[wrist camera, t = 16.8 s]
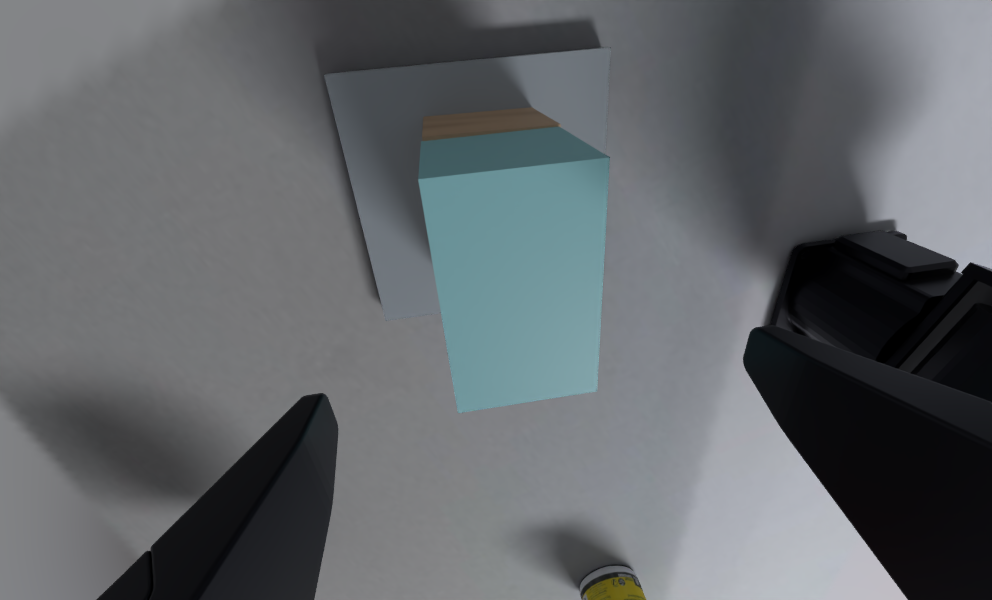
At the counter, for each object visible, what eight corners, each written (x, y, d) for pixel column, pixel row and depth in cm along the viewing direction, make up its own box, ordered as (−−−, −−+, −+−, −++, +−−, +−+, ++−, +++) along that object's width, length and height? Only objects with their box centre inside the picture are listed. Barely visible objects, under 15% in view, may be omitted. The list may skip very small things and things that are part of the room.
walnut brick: (534, 266, 21) (558, 314, 18) (445, 276, 21) (449, 328, 17) (531, 107, 18) (560, 124, 14) (423, 116, 17) (422, 136, 13)
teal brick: (559, 315, 18) (597, 391, 14) (451, 330, 17) (457, 413, 13) (559, 126, 14) (609, 157, 10) (420, 141, 14) (418, 179, 10)
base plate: (592, 282, 23) (598, 291, 23) (387, 310, 23) (385, 320, 22) (601, 47, 18) (610, 47, 17) (329, 73, 17) (323, 74, 16)
